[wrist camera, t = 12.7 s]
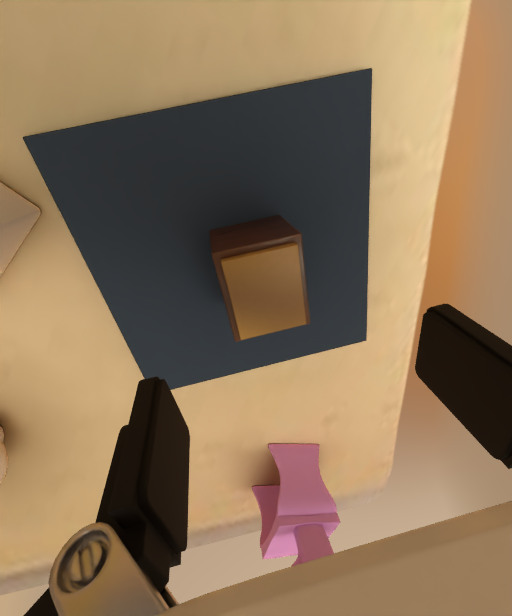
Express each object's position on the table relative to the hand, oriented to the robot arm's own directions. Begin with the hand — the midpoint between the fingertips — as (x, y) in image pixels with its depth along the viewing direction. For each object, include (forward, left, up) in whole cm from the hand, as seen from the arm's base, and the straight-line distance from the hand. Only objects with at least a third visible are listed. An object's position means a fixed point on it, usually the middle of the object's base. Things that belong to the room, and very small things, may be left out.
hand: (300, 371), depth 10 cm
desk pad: (0, -1, -13) cm, 13 cm away
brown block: (0, 0, -13) cm, 12 cm away
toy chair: (+27, -1, -13) cm, 30 cm away
